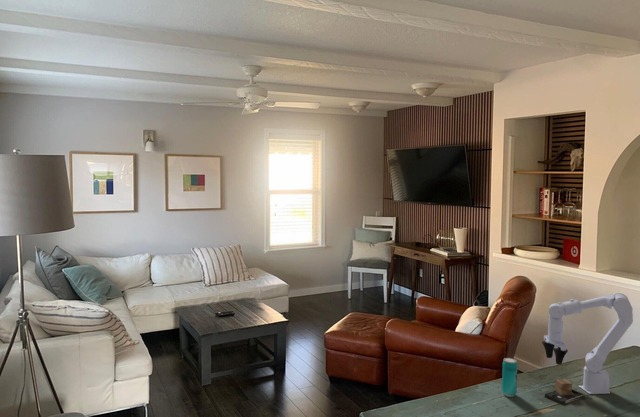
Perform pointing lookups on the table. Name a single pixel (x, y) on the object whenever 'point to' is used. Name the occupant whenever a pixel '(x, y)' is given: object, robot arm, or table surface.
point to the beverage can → (509, 377)
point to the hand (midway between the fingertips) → (554, 360)
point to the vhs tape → (563, 397)
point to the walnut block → (563, 387)
